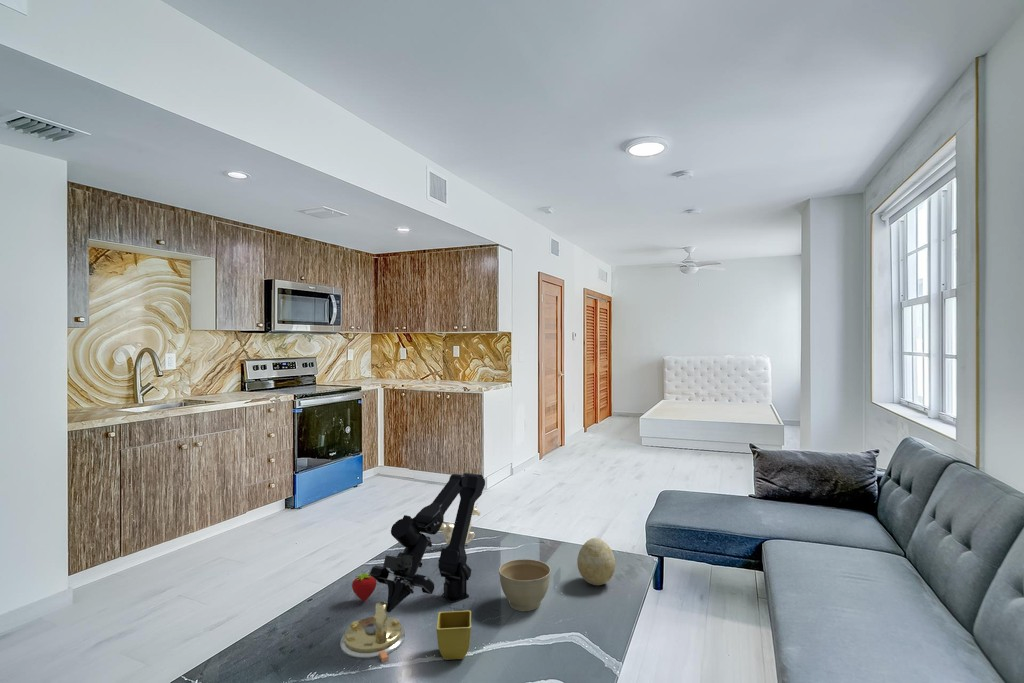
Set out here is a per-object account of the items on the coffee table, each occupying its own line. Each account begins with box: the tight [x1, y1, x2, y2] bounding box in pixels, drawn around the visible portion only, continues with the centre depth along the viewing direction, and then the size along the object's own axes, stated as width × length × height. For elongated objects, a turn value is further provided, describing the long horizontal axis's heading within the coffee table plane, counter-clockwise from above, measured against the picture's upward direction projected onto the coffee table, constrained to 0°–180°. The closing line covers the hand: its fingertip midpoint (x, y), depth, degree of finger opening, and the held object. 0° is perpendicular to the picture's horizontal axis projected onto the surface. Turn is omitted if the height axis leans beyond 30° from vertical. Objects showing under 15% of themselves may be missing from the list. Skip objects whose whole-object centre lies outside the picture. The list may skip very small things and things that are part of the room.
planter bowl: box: [498, 558, 552, 612], centre depth 157 cm, size 16×16×11 cm
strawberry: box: [351, 571, 378, 602], centre depth 159 cm, size 6×8×10 cm
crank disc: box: [343, 601, 402, 653], centre depth 138 cm, size 15×15×11 cm
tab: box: [378, 651, 389, 663], centre depth 129 cm, size 3×2×1 cm, turn 31°
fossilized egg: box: [576, 537, 616, 586], centre depth 171 cm, size 13×13×15 cm
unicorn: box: [438, 501, 481, 546], centre depth 202 cm, size 20×4×17 cm, turn 111°
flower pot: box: [436, 610, 472, 661], centre depth 131 cm, size 9×9×9 cm
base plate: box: [339, 623, 406, 660], centre depth 138 cm, size 17×17×4 cm
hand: (387, 612), depth 133 cm, fingers closed, pressing on crank disc
